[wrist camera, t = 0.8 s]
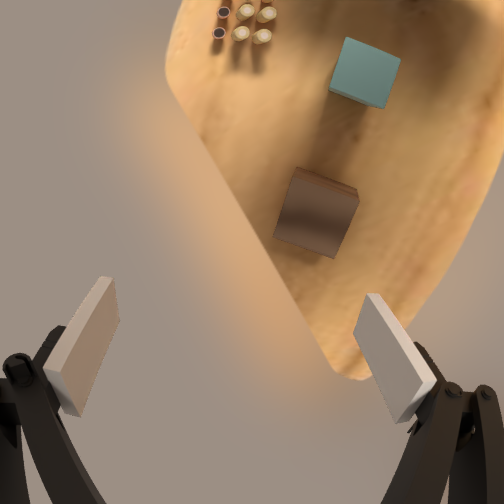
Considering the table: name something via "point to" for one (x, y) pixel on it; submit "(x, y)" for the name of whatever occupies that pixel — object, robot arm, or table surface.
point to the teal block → (364, 73)
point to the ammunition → (244, 14)
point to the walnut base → (316, 213)
